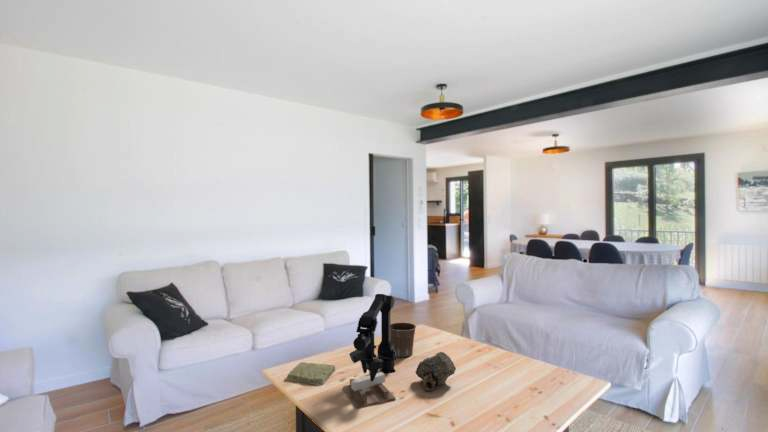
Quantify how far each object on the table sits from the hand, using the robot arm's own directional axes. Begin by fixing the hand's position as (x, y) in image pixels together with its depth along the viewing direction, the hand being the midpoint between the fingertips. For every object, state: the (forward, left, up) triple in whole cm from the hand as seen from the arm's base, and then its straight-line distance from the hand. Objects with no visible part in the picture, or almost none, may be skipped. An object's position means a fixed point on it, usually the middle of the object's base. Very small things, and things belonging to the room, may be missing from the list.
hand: (368, 377), depth 177 cm
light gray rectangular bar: (0, 0, -4) cm, 4 cm away
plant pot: (-35, -38, -8) cm, 52 cm away
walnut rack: (0, 0, -8) cm, 8 cm away
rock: (-31, +4, -8) cm, 32 cm away
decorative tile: (+20, -30, -9) cm, 37 cm away
